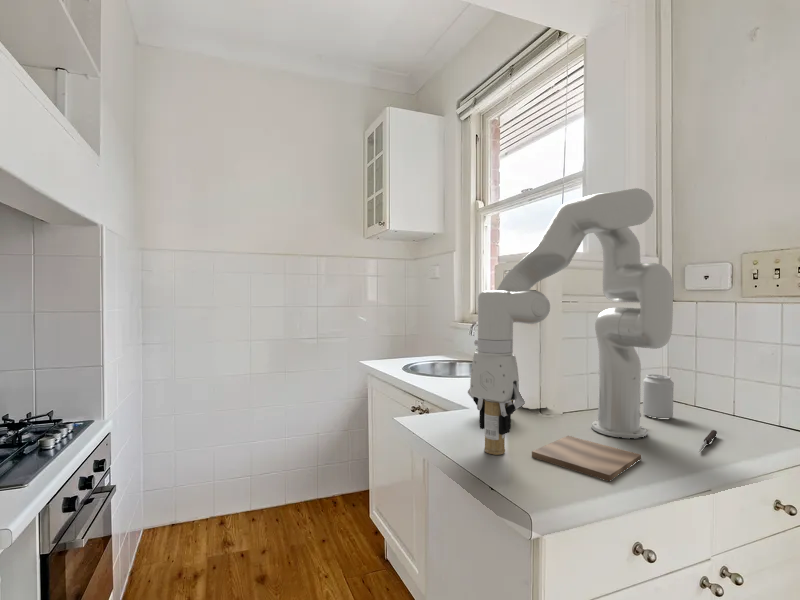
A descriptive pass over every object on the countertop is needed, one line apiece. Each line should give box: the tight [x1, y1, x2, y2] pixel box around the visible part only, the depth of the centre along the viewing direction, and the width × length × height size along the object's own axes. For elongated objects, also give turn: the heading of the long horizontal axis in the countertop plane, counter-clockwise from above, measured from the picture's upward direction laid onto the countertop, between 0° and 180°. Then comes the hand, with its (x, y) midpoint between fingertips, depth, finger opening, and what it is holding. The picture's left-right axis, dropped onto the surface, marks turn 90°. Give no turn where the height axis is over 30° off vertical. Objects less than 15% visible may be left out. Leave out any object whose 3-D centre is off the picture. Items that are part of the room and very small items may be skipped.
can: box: [642, 373, 675, 419], centre depth 123 cm, size 8×8×12 cm
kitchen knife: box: [698, 429, 718, 453], centre depth 99 cm, size 18×1×2 cm, turn 135°
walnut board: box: [531, 435, 642, 482], centre depth 90 cm, size 16×16×1 cm
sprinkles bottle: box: [483, 400, 506, 456], centre depth 93 cm, size 5×5×14 cm
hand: (494, 429), depth 93 cm, fingers closed on sprinkles bottle, 4 cm apart
